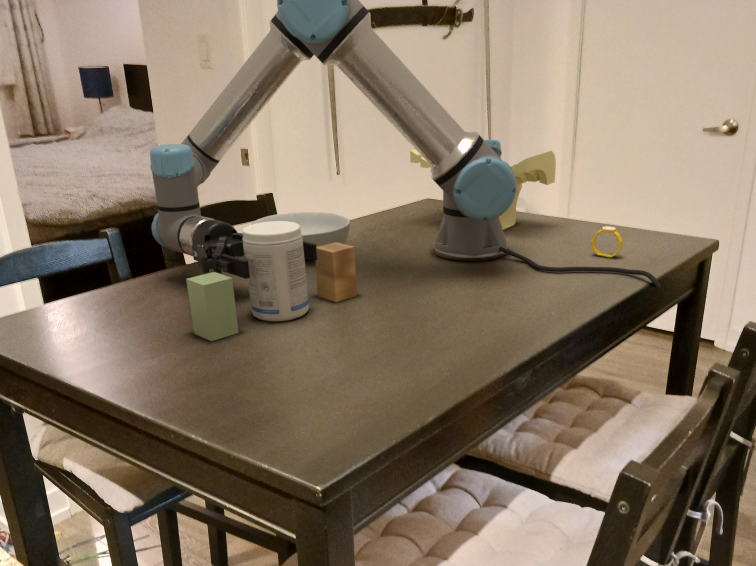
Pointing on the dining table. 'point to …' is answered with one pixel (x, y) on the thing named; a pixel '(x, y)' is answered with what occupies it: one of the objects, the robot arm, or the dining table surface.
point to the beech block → (336, 272)
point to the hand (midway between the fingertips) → (282, 261)
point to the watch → (607, 230)
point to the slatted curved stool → (516, 177)
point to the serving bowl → (316, 226)
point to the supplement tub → (276, 270)
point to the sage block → (212, 306)
